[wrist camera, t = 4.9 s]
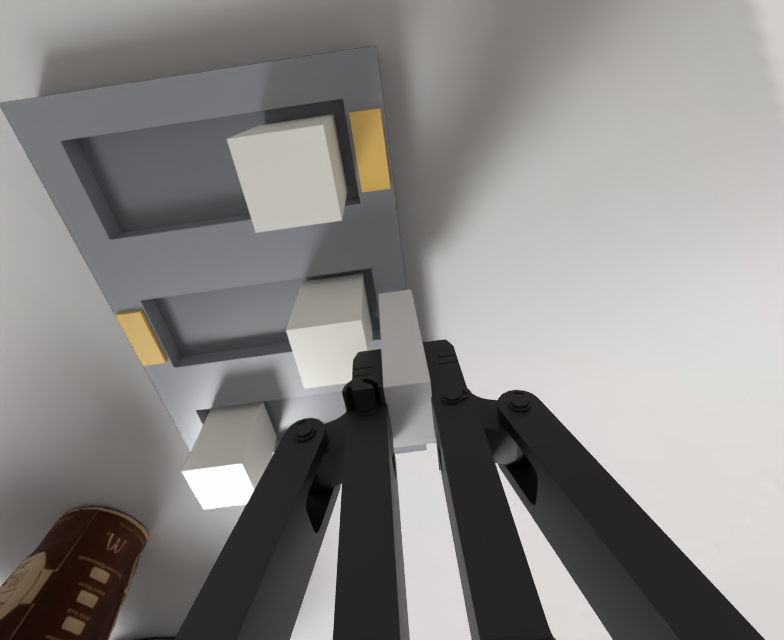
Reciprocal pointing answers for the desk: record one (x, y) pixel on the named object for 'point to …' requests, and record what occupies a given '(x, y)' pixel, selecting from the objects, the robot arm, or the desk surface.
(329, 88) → the switch board
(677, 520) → the desk surface
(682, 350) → the desk surface
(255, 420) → the tab
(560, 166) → the desk surface
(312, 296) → the tab
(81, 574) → the coffee cup
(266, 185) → the tab
